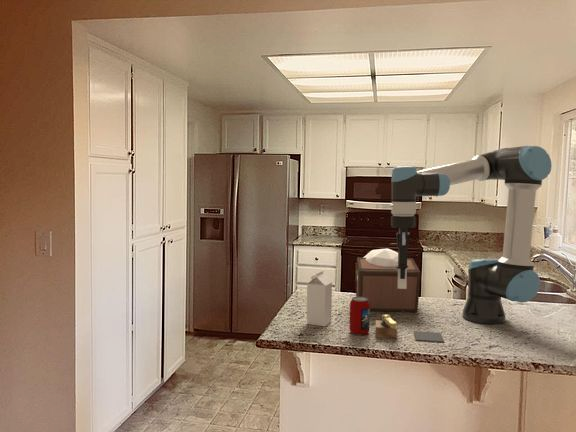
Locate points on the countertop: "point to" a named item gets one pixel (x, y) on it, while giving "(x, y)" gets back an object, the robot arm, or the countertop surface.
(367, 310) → the beverage can
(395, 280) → the tissue box
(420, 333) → the mat
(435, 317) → the countertop surface
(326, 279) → the milk carton
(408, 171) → the robot arm
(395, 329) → the pedestal
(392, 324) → the lever
